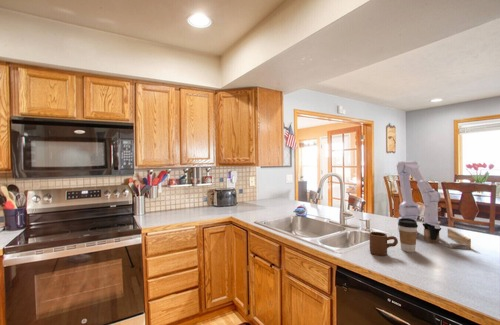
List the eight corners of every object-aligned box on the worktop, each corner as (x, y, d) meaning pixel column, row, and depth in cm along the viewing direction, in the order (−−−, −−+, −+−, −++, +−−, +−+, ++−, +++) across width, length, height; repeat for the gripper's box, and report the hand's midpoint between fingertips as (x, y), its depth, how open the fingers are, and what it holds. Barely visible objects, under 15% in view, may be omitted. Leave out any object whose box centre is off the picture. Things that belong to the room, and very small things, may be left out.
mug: (397, 253, 116) (397, 233, 116) (398, 259, 109) (398, 238, 109) (369, 249, 122) (369, 230, 122) (369, 254, 115) (369, 235, 115)
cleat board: (449, 247, 122) (449, 238, 122) (431, 236, 140) (431, 227, 140) (470, 249, 119) (470, 239, 119) (450, 237, 138) (450, 228, 138)
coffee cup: (416, 248, 122) (415, 218, 122) (420, 254, 114) (419, 223, 114) (397, 246, 126) (396, 217, 125) (399, 251, 118) (399, 221, 118)
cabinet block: (427, 242, 130) (427, 229, 130) (424, 239, 135) (423, 227, 135) (439, 242, 129) (439, 230, 129) (435, 240, 133) (435, 228, 133)
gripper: (446, 217, 124) (447, 243, 124) (433, 211, 138) (433, 234, 138) (430, 216, 126) (431, 242, 126) (419, 210, 140) (419, 233, 140)
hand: (431, 238), depth 132 cm, fingers closed on cabinet block, 4 cm apart
